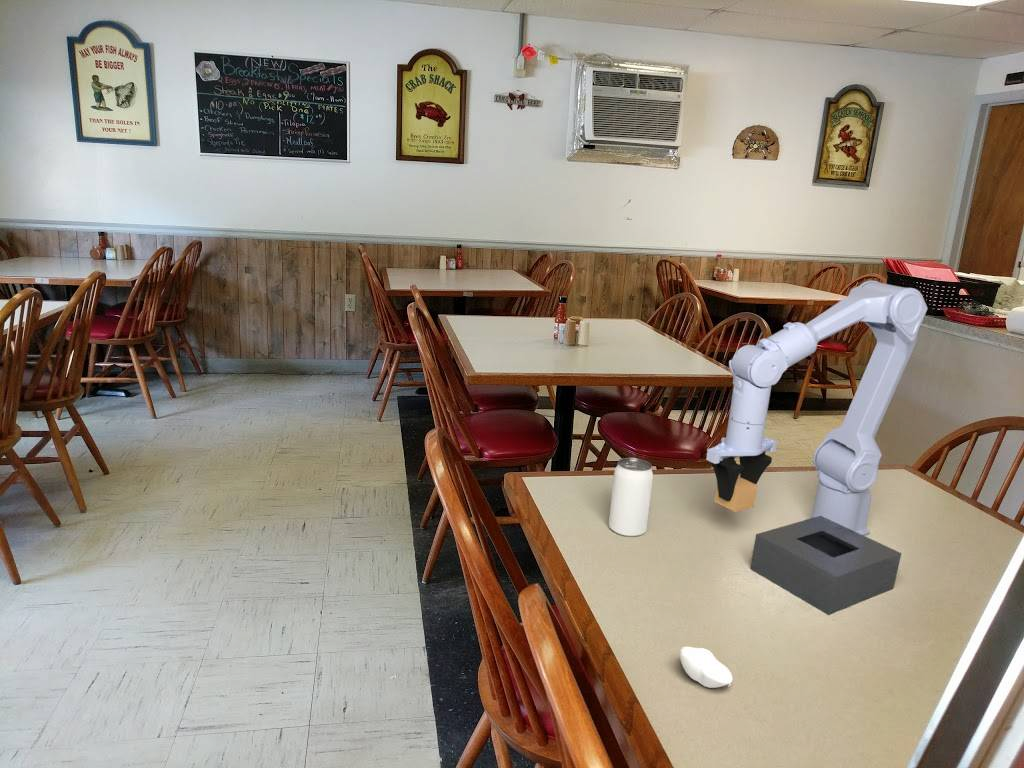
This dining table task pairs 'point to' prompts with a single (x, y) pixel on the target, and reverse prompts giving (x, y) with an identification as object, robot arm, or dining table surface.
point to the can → (631, 497)
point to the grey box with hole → (825, 563)
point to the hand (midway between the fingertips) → (735, 496)
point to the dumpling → (704, 667)
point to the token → (739, 496)
